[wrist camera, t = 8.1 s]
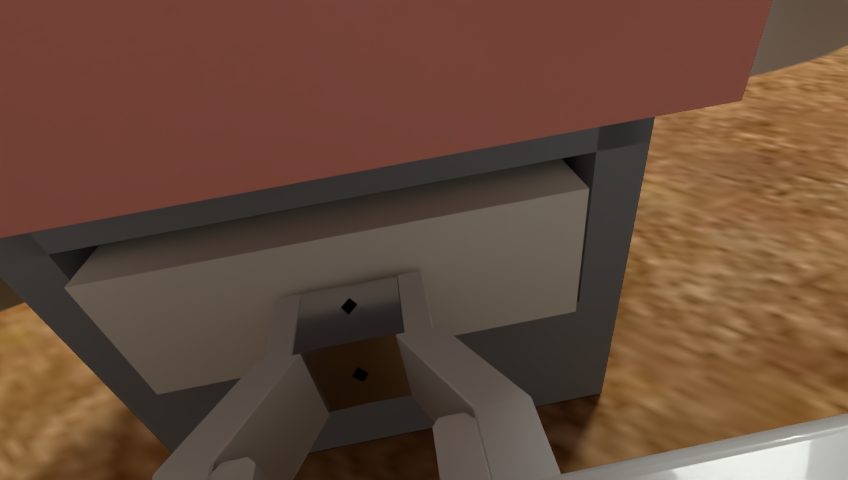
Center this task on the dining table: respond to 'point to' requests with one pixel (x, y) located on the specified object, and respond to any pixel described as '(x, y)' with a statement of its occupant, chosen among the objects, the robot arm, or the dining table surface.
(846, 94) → the dining table surface
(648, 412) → the dining table surface
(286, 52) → the red button
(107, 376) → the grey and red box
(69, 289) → the pale button
